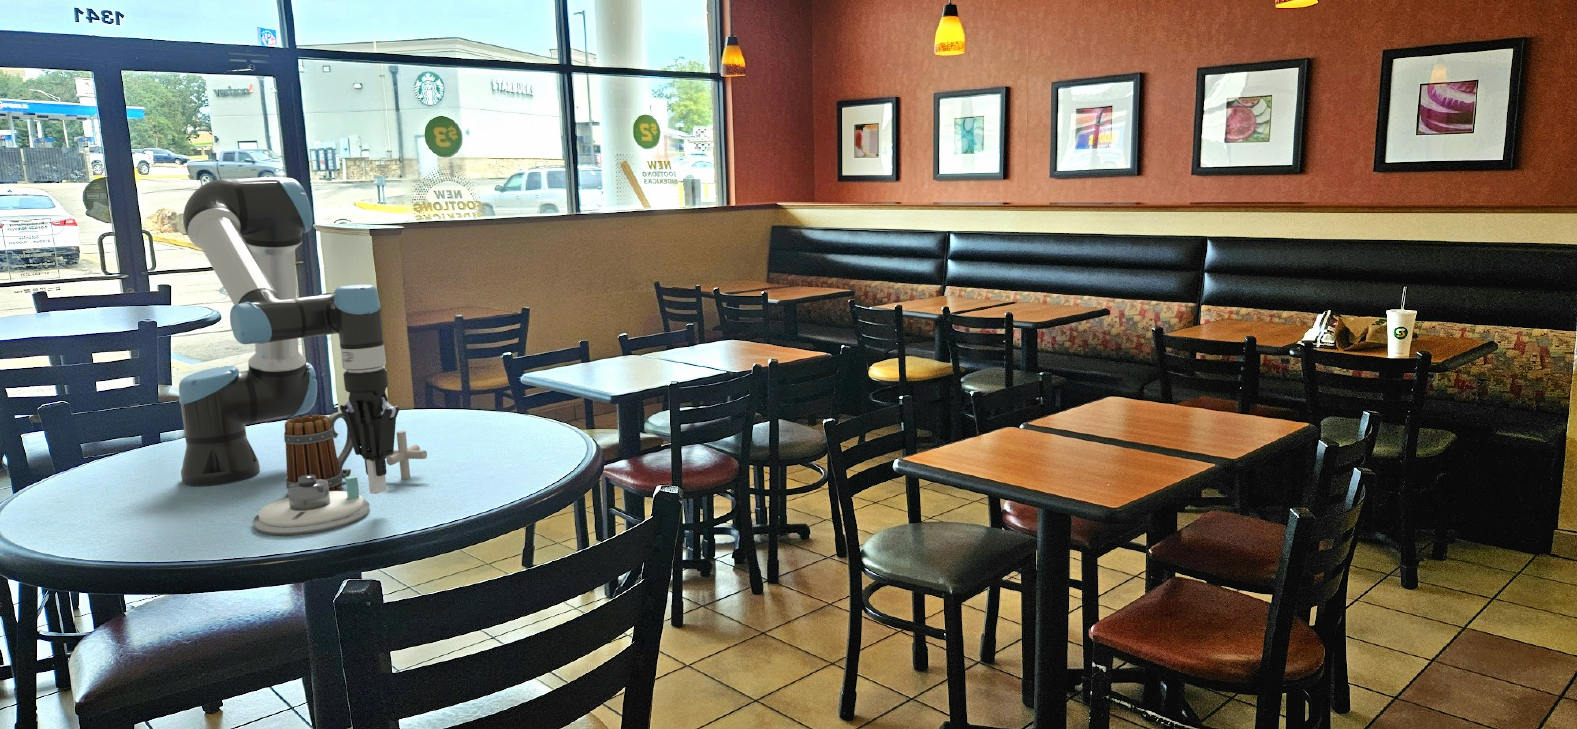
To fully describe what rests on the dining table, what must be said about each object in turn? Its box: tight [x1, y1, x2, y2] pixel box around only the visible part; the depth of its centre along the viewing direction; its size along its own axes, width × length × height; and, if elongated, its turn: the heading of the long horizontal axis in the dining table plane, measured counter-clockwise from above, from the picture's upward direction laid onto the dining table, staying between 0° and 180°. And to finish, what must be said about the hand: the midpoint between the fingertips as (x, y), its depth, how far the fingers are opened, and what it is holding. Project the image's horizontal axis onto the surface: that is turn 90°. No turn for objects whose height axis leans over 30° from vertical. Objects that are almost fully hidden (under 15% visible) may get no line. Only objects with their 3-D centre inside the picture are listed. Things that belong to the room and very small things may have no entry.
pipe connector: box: [385, 430, 428, 480], centre depth 227 cm, size 10×10×10 cm
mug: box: [283, 411, 354, 491], centre depth 222 cm, size 16×11×15 cm
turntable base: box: [252, 498, 371, 537], centre depth 202 cm, size 20×20×1 cm
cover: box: [286, 475, 330, 511], centre depth 202 cm, size 7×7×6 cm
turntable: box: [257, 475, 364, 527], centre depth 202 cm, size 18×18×5 cm
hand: (378, 491), depth 203 cm, fingers closed
